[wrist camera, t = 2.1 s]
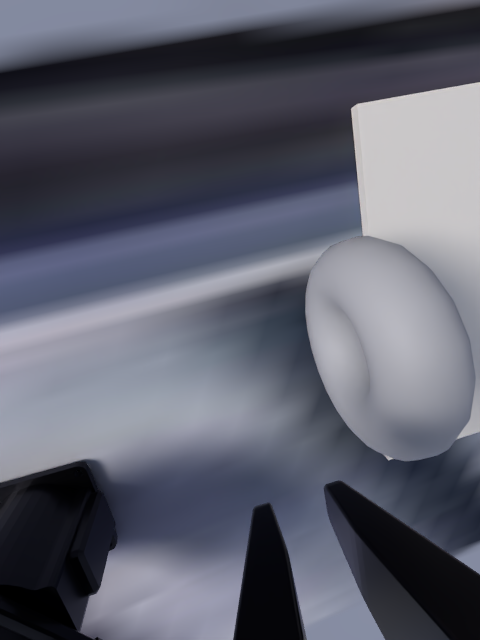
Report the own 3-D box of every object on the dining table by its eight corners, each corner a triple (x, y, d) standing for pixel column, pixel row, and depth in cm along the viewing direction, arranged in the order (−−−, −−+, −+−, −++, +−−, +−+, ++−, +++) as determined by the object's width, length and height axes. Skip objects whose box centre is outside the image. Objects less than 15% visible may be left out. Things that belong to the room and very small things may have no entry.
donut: (282, 243, 18) (394, 250, 8) (339, 230, 18) (508, 221, 9) (310, 398, 21) (418, 535, 11) (359, 383, 21) (504, 504, 12)
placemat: (383, 454, 23) (388, 460, 22) (351, 108, 17) (357, 103, 16) (482, 424, 24) (490, 428, 23) (485, 84, 18) (495, 79, 17)
